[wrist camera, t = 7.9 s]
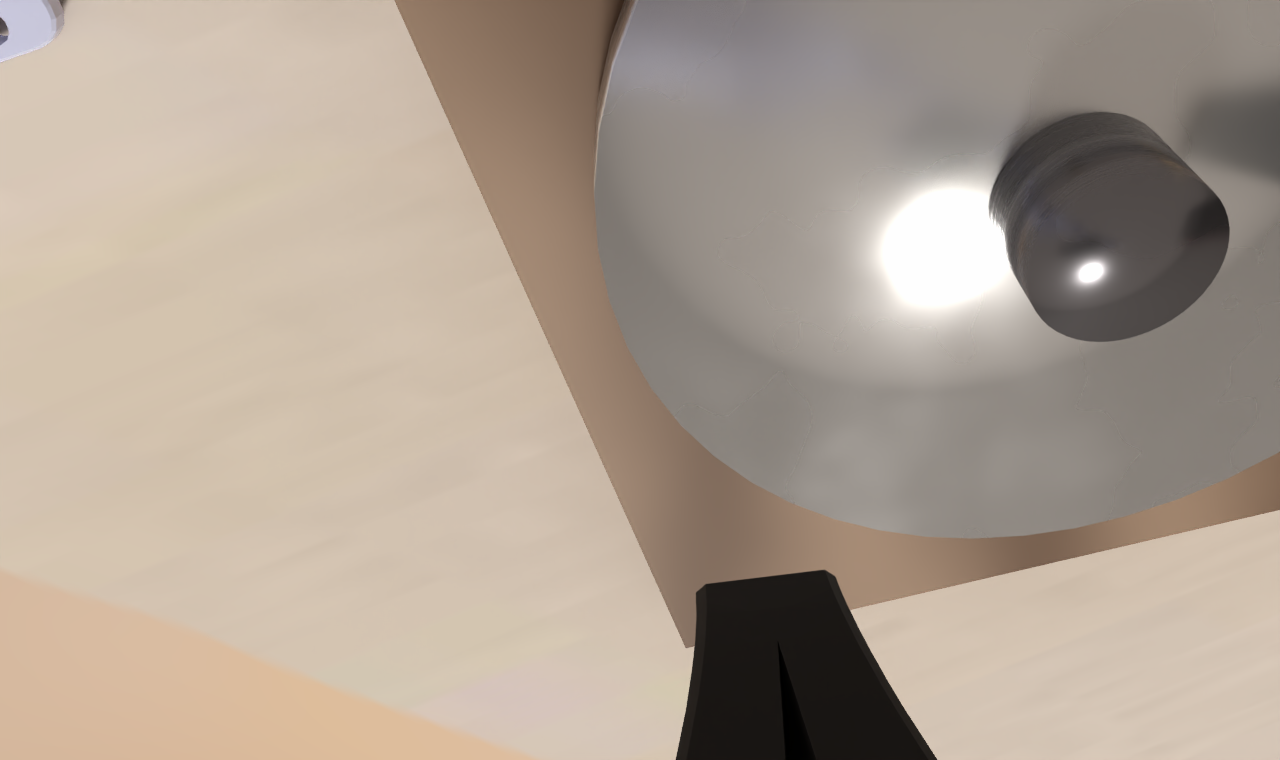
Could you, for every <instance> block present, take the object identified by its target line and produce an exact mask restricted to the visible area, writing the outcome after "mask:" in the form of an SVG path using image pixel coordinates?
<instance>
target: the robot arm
mask: <svg viewBox="0 0 1280 760" xmlns="http://www.w3.org/2000/svg"><path fill="white" fill-rule="evenodd" d="M0 17H1V18H2V19H3V20H4V21H5V23H6V25H7V28H8V30H9V35H8V36H2V35H0V62H3V61H6V60H9V59H11V58H14V57H17V56H20V55H23V54H26V53H29V52H31V51H34V50H37V49H40V48H42V47H44V46H45V45H47V44H48V43H50V42H51V41H53V40H54V39H55V38H56V37H57V36H58V35H59V34H60V32H61V30H62V28H63V26H64V11H63V8H62V6H61V4H60V1H59V0H0ZM676 760H937V758H936V757H935V755H934V754H933V752H932V751H931V749H930V748H929V746H928V745H927V743H926V742H925V740H924V738H923V737H922V735H921V734H920V732H919V731H918V729H917V728H916V726H915V725H914V723H913V721H912V720H911V718H910V717H909V715H908V714H907V712H906V711H905V709H904V707H903V706H902V704H901V702H900V701H899V699H898V698H897V696H896V694H895V693H894V691H893V689H892V688H891V686H890V684H889V683H888V681H887V679H886V677H885V676H884V674H883V672H882V670H881V668H880V667H879V665H878V663H877V661H876V660H875V658H874V656H873V654H872V653H871V651H870V649H869V647H868V645H867V643H866V641H865V639H864V638H863V636H862V634H861V632H860V630H859V628H858V626H857V624H856V622H855V620H854V618H853V616H852V614H851V612H850V609H849V607H848V605H847V603H846V601H845V599H844V596H843V594H842V592H841V589H840V587H839V584H838V582H837V579H836V576H834V575H833V574H831V573H829V572H828V571H826V570H817V571H808V572H800V573H792V574H783V575H775V576H767V577H759V578H750V579H742V580H734V581H726V582H717V583H709V584H705V585H704V586H703V587H702V588H701V589H699V590H698V591H697V592H696V634H695V648H694V658H693V666H692V674H691V681H690V687H689V694H688V701H687V707H686V713H685V717H684V722H683V727H682V732H681V737H680V742H679V747H678V752H677V757H676Z"/></svg>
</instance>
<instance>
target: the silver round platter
mask: <svg viewBox="0 0 1280 760" xmlns="http://www.w3.org/2000/svg"><path fill="white" fill-rule="evenodd" d="M594 199H595V213H596V228H597V242H598V252H599V256H600V261H601V265H602V270H603V274H604V279H605V283H606V288H607V292H608V297H609V301H610V304H611V306H612V309H613V311H614V314H615V317H616V319H617V322H618V324H619V327H620V329H621V332H622V334H623V337H624V340H625V342H626V345H627V347H628V349H629V351H630V353H631V354H632V356H633V358H634V359H635V361H636V363H637V365H638V366H639V368H640V370H641V372H642V373H643V375H644V377H645V378H646V380H647V382H648V384H649V385H650V387H651V389H652V390H653V391H654V393H655V394H656V395H657V396H658V398H659V399H660V400H661V401H662V403H663V404H664V405H665V406H666V408H667V409H668V410H669V411H670V413H671V414H672V415H673V416H674V418H675V419H676V420H677V421H678V423H679V424H680V425H681V426H682V427H683V428H684V429H685V430H686V431H687V432H688V433H690V434H691V435H692V436H693V437H694V438H695V439H696V440H697V441H698V442H699V443H700V444H701V445H702V446H704V447H705V448H706V449H707V450H708V451H709V452H710V453H711V454H712V455H713V456H714V457H716V458H717V459H719V460H720V461H722V462H723V463H724V464H726V465H727V466H729V467H730V468H732V469H733V470H734V471H736V472H737V473H739V474H740V475H742V476H743V477H744V478H746V479H747V480H749V481H750V482H752V483H754V484H756V485H757V486H759V487H761V488H763V489H765V490H767V491H769V492H771V493H773V494H775V495H777V496H779V497H781V498H782V499H784V500H786V501H788V502H790V503H792V504H795V505H798V506H800V507H803V508H806V509H808V510H811V511H814V512H816V513H819V514H822V515H824V516H827V517H830V518H832V519H836V520H840V521H844V522H848V523H852V524H856V525H860V526H864V527H868V528H872V529H876V530H881V531H888V532H895V533H903V534H910V535H917V536H924V537H947V538H973V539H975V538H992V537H1010V536H1025V535H1032V534H1039V533H1046V532H1053V531H1060V530H1066V529H1073V528H1078V527H1082V526H1086V525H1091V524H1095V523H1099V522H1103V521H1108V520H1112V519H1116V518H1120V517H1125V516H1128V515H1131V514H1134V513H1137V512H1140V511H1143V510H1146V509H1150V508H1153V507H1156V506H1159V505H1162V504H1165V503H1168V502H1171V501H1174V500H1177V499H1180V498H1182V497H1184V496H1187V495H1189V494H1192V493H1194V492H1196V491H1199V490H1201V489H1204V488H1206V487H1209V486H1211V485H1213V484H1216V483H1218V482H1221V481H1223V480H1225V479H1228V478H1230V477H1232V476H1234V475H1236V474H1238V473H1239V472H1241V471H1243V470H1245V469H1247V468H1249V467H1251V466H1253V465H1255V464H1257V463H1259V462H1261V461H1263V460H1265V459H1267V458H1269V457H1271V456H1273V455H1275V454H1277V453H1279V452H1280V0H624V2H623V5H622V8H621V11H620V14H619V16H618V19H617V22H616V25H615V27H614V30H613V33H612V36H611V39H610V44H609V49H608V53H607V58H606V63H605V67H604V72H603V77H602V81H601V86H600V91H599V95H598V103H597V116H596V130H595V143H594Z"/></svg>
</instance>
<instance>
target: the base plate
mask: <svg viewBox="0 0 1280 760" xmlns="http://www.w3.org/2000/svg"><path fill="white" fill-rule="evenodd" d="M395 2H396V5H397V7H398V9H399V11H400V14H401V16H402V18H403V20H404V22H405V25H406V27H407V29H408V31H409V34H410V36H411V38H412V40H413V42H414V45H415V47H416V49H417V51H418V54H419V56H420V58H421V60H422V62H423V65H424V67H425V69H426V71H427V74H428V76H429V78H430V80H431V82H432V85H433V87H434V89H435V91H436V94H437V96H438V98H439V100H440V102H441V105H442V107H443V109H444V111H445V114H446V116H447V118H448V120H449V123H450V125H451V127H452V129H453V131H454V134H455V136H456V138H457V140H458V143H459V145H460V147H461V149H462V151H463V154H464V156H465V158H466V160H467V163H468V165H469V167H470V169H471V171H472V174H473V176H474V178H475V180H476V183H477V185H478V187H479V189H480V191H481V194H482V196H483V198H484V200H485V203H486V205H487V207H488V209H489V211H490V214H491V216H492V218H493V220H494V223H495V225H496V227H497V229H498V231H499V234H500V236H501V238H502V240H503V243H504V245H505V247H506V249H507V251H508V254H509V256H510V258H511V260H512V263H513V265H514V267H515V269H516V271H517V274H518V276H519V278H520V280H521V283H522V285H523V287H524V289H525V291H526V294H527V296H528V298H529V300H530V303H531V305H532V307H533V309H534V311H535V314H536V316H537V318H538V320H539V323H540V325H541V327H542V329H543V331H544V334H545V336H546V338H547V340H548V343H549V345H550V347H551V349H552V351H553V354H554V356H555V358H556V360H557V363H558V365H559V367H560V369H561V372H562V374H563V376H564V378H565V380H566V383H567V385H568V387H569V389H570V392H571V394H572V396H573V398H574V400H575V403H576V405H577V407H578V409H579V412H580V414H581V416H582V418H583V420H584V423H585V425H586V427H587V429H588V432H589V434H590V436H591V438H592V440H593V443H594V445H595V447H596V449H597V452H598V454H599V456H600V458H601V460H602V463H603V465H604V467H605V469H606V472H607V474H608V476H609V478H610V480H611V483H612V485H613V487H614V489H615V492H616V494H617V496H618V498H619V500H620V503H621V505H622V507H623V509H624V512H625V514H626V516H627V518H628V520H629V523H630V525H631V527H632V529H633V532H634V534H635V536H636V538H637V540H638V543H639V545H640V547H641V549H642V552H643V554H644V556H645V558H646V560H647V563H648V565H649V567H650V569H651V572H652V574H653V576H654V578H655V580H656V583H657V585H658V587H659V589H660V592H661V594H662V596H663V598H664V601H665V603H666V605H667V607H668V609H669V612H670V614H671V616H672V618H673V621H674V623H675V625H676V627H677V629H678V632H679V634H680V636H681V638H682V641H683V643H684V645H685V647H686V648H688V647H693V646H695V634H696V592H697V591H698V590H699V589H701V588H702V587H703V586H704V585H705V584H709V583H717V582H726V581H734V580H742V579H750V578H759V577H767V576H775V575H783V574H792V573H800V572H808V571H817V570H826V571H828V572H829V573H831V574H833V575H834V576H836V579H837V582H838V584H839V587H840V589H841V592H842V594H843V596H844V599H845V601H846V603H847V605H848V607H849V609H850V610H852V609H856V608H860V607H864V606H869V605H873V604H877V603H882V602H886V601H890V600H894V599H899V598H903V597H907V596H912V595H916V594H920V593H925V592H929V591H933V590H937V589H942V588H946V587H950V586H955V585H959V584H963V583H967V582H972V581H976V580H980V579H985V578H989V577H993V576H997V575H1002V574H1006V573H1010V572H1015V571H1019V570H1023V569H1028V568H1032V567H1036V566H1040V565H1045V564H1049V563H1053V562H1058V561H1062V560H1066V559H1070V558H1075V557H1079V556H1083V555H1088V554H1092V553H1096V552H1100V551H1105V550H1109V549H1113V548H1118V547H1122V546H1126V545H1131V544H1135V543H1139V542H1143V541H1148V540H1152V539H1156V538H1161V537H1165V536H1169V535H1173V534H1178V533H1182V532H1186V531H1191V530H1195V529H1199V528H1203V527H1208V526H1212V525H1216V524H1221V523H1225V522H1229V521H1234V520H1238V519H1242V518H1246V517H1251V516H1255V515H1259V514H1264V513H1268V512H1272V511H1276V510H1280V452H1279V453H1277V454H1275V455H1273V456H1271V457H1269V458H1267V459H1265V460H1263V461H1261V462H1259V463H1257V464H1255V465H1253V466H1251V467H1249V468H1247V469H1245V470H1243V471H1241V472H1239V473H1238V474H1236V475H1234V476H1232V477H1230V478H1228V479H1225V480H1223V481H1221V482H1218V483H1216V484H1213V485H1211V486H1209V487H1206V488H1204V489H1201V490H1199V491H1196V492H1194V493H1192V494H1189V495H1187V496H1184V497H1182V498H1180V499H1177V500H1174V501H1171V502H1168V503H1165V504H1162V505H1159V506H1156V507H1153V508H1150V509H1146V510H1143V511H1140V512H1137V513H1134V514H1131V515H1128V516H1125V517H1120V518H1116V519H1112V520H1108V521H1103V522H1099V523H1095V524H1091V525H1086V526H1082V527H1078V528H1073V529H1066V530H1060V531H1053V532H1046V533H1039V534H1032V535H1025V536H1010V537H992V538H975V539H973V538H947V537H924V536H917V535H910V534H903V533H895V532H888V531H881V530H876V529H872V528H868V527H864V526H860V525H856V524H852V523H848V522H844V521H840V520H836V519H832V518H830V517H827V516H824V515H822V514H819V513H816V512H814V511H811V510H808V509H806V508H803V507H800V506H798V505H795V504H792V503H790V502H788V501H786V500H784V499H782V498H781V497H779V496H777V495H775V494H773V493H771V492H769V491H767V490H765V489H763V488H761V487H759V486H757V485H756V484H754V483H752V482H750V481H749V480H747V479H746V478H744V477H743V476H742V475H740V474H739V473H737V472H736V471H734V470H733V469H732V468H730V467H729V466H727V465H726V464H724V463H723V462H722V461H720V460H719V459H717V458H716V457H714V456H713V455H712V454H711V453H710V452H709V451H708V450H707V449H706V448H705V447H704V446H702V445H701V444H700V443H699V442H698V441H697V440H696V439H695V438H694V437H693V436H692V435H691V434H690V433H688V432H687V431H686V430H685V429H684V428H683V427H682V426H681V425H680V424H679V423H678V421H677V420H676V419H675V418H674V416H673V415H672V414H671V413H670V411H669V410H668V409H667V408H666V406H665V405H664V404H663V403H662V401H661V400H660V399H659V398H658V396H657V395H656V394H655V393H654V391H653V390H652V389H651V387H650V385H649V384H648V382H647V380H646V378H645V377H644V375H643V373H642V372H641V370H640V368H639V366H638V365H637V363H636V361H635V359H634V358H633V356H632V354H631V353H630V351H629V349H628V347H627V345H626V342H625V340H624V337H623V334H622V332H621V329H620V327H619V324H618V322H617V319H616V317H615V314H614V311H613V309H612V306H611V304H610V301H609V297H608V292H607V288H606V283H605V279H604V274H603V270H602V265H601V261H600V256H599V252H598V242H597V228H596V213H595V199H594V143H595V130H596V116H597V103H598V95H599V91H600V86H601V81H602V77H603V72H604V67H605V63H606V58H607V53H608V49H609V44H610V39H611V36H612V33H613V30H614V27H615V25H616V22H617V19H618V16H619V14H620V11H621V8H622V5H623V2H624V0H395Z"/></svg>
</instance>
